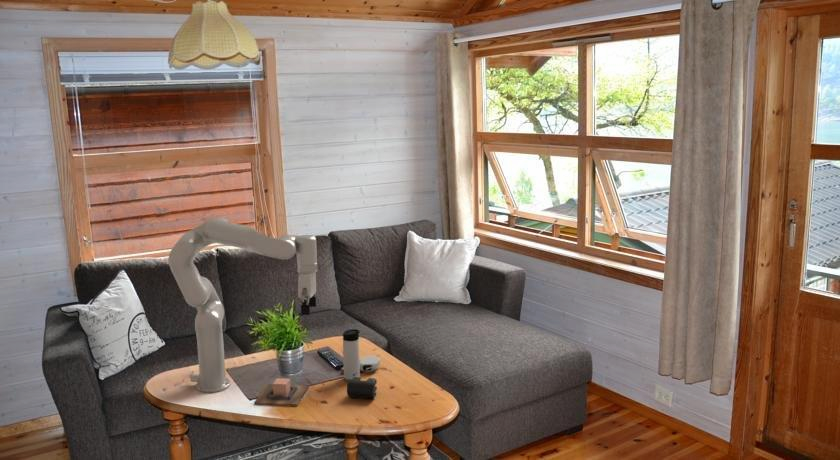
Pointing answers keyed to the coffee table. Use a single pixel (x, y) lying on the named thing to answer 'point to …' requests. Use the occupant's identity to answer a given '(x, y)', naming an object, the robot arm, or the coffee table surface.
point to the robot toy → (368, 363)
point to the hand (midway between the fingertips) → (308, 310)
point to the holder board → (281, 396)
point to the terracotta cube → (281, 387)
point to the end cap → (362, 388)
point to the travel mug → (351, 354)
